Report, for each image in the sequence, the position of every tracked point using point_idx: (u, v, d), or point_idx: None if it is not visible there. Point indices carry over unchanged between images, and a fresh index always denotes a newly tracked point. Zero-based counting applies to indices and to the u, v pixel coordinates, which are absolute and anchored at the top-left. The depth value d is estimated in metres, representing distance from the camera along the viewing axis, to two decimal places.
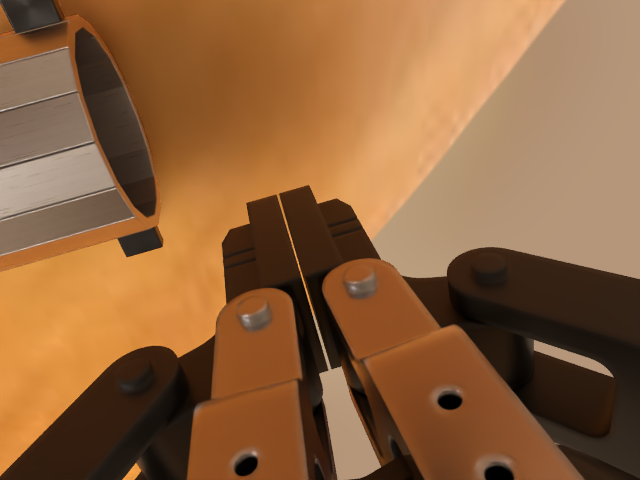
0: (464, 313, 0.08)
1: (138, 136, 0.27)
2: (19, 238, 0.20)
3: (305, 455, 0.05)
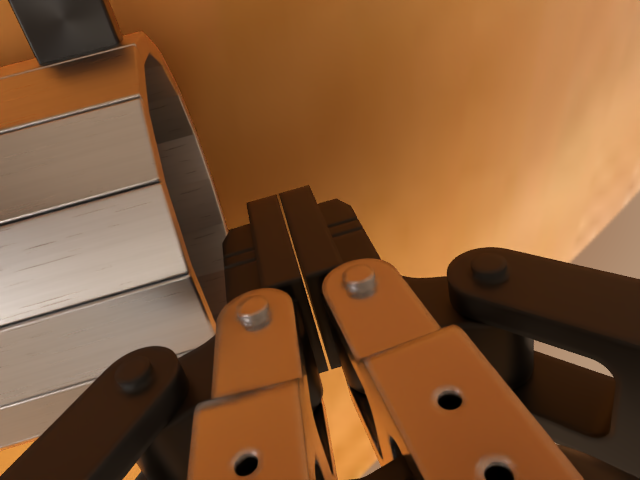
0: (464, 313, 0.08)
1: (211, 206, 0.18)
2: (42, 422, 0.11)
3: (305, 455, 0.05)
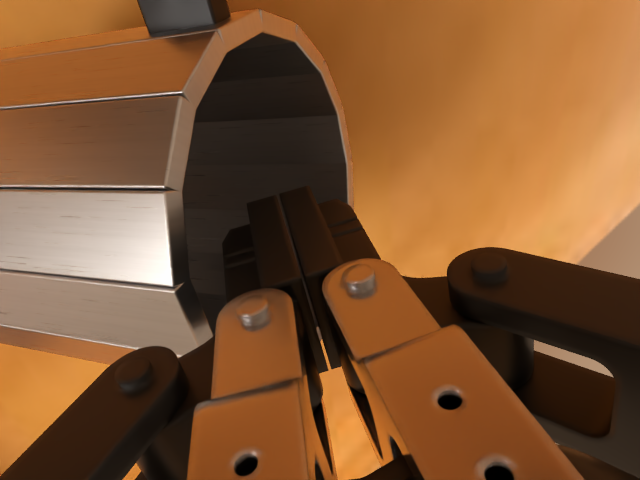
0: (464, 313, 0.08)
1: (340, 192, 0.17)
2: (87, 354, 0.13)
3: (305, 455, 0.05)
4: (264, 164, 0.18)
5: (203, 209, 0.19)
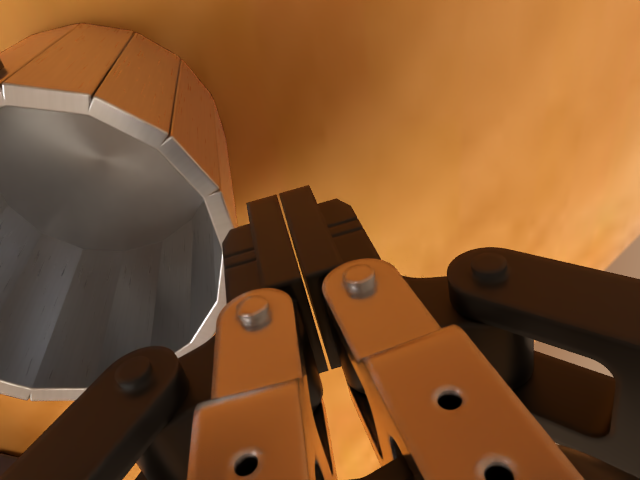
0: (464, 313, 0.08)
1: (218, 276, 0.15)
2: None
3: (305, 455, 0.05)
4: None
5: None
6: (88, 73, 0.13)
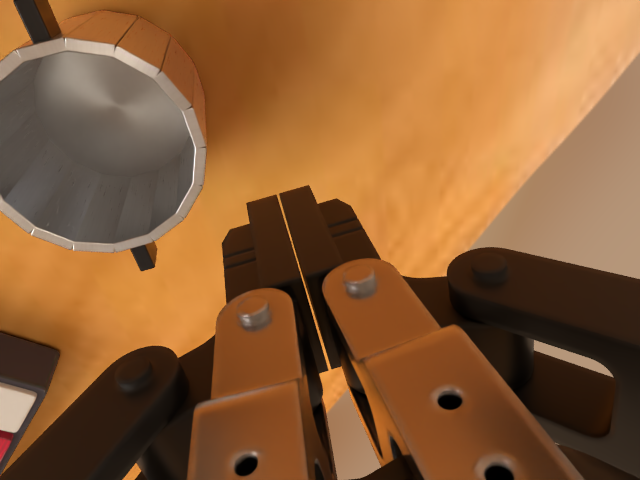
0: (464, 313, 0.08)
1: (193, 167, 0.23)
2: None
3: (305, 455, 0.05)
4: None
5: (192, 141, 0.28)
6: (112, 35, 0.21)
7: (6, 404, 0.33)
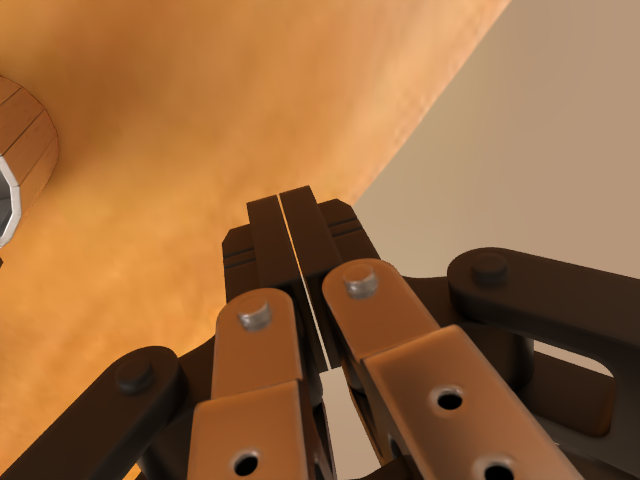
0: (464, 313, 0.08)
1: None
2: None
3: (305, 455, 0.05)
4: None
5: None
6: None
7: None
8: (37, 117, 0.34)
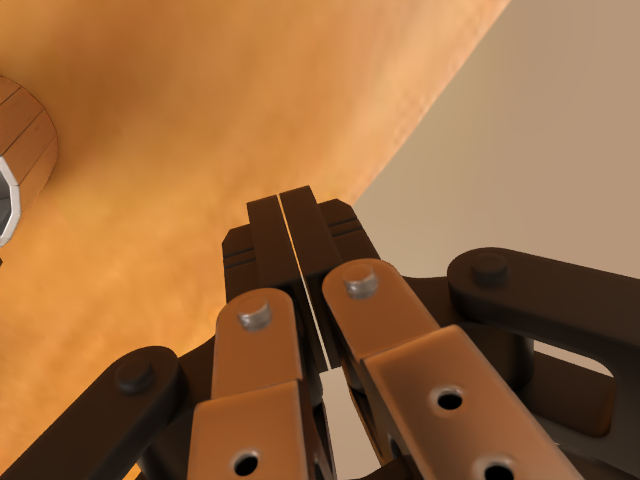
0: (464, 313, 0.08)
1: None
2: None
3: (305, 455, 0.05)
4: None
5: None
6: None
7: None
8: (37, 117, 0.34)
